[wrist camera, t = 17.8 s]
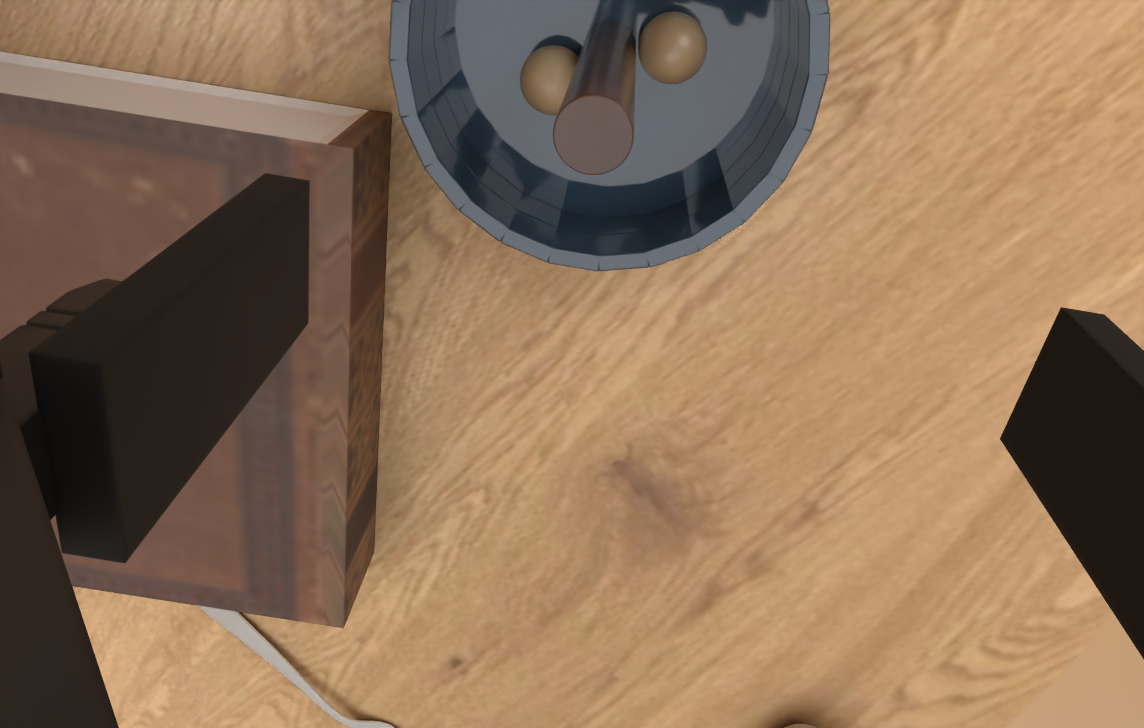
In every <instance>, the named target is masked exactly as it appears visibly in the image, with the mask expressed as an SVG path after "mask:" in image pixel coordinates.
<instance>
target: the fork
mask: <svg viewBox="0 0 1144 728" xmlns="http://www.w3.org/2000/svg"><path fill="white" fill-rule="evenodd" d="M197 607H199V608H200V609H201V610H203V611H204V612H205V613H206V614H208V615H209V616H210V617H211V618H213V619H214V620H215V621H216V622H218V623H219V624H220V625H222V626H223V627H224V628H225V629H227V630H228V631H229V632H231V633H232V634H233V635H234V636H236V637H237V638H238V639H240V640H241V641H242V642H243V643H245V644H246V645H247V646H248V647H250V648H251V649H252V650H253V651H255V652H256V653H257V654H258V655H260V656H261V657H262V658H263V659H264V660H266V661H267V662H268V663H269V664H271V665H272V666H273V667H274V668H276V669H277V670H278V671H279V672H281V673H282V674H283V675H284V676H286V677H287V678H288V679H289V680H290V681H291V682H293V683H294V684H295V685H296V686H297V687H299V688H300V689H301V690H302V691H303V692H304V693H306V694H307V695H308V696H309V697H310V698H311V699H312V700H313V701H314V702H315V703H316V704H318V705H319V706H320V707H321V708H322V709H323V710H324V711H325V712H327V713H328V714H329V715H330V716H332V717H333V718H334V719H336V720H337V721H339V722H340V723H342V724H344V725H346V726H348V727H350V728H394V727H393V726H392V725H390V724H387V723H384V722H381V721H364V720H356V719H352V718H349V717H347V716H345V715H343V714H341V713H340V712H338V711H337V710H336V709H334V708H333V707H332V706H331V705H330V704H329V703H328V702H327V701H326V700H325V699H324V698H323V697H322V696H321V695H320V694H319V693H318V692H317V691H316V690H315V689H314V688H313V687H312V686H311V685H310V684H309V683H308V682H307V681H306V680H305V679H304V678H303V677H302V676H301V675H300V674H299V672H298V671H297V670H296V669H295V668H294V667H293V666H292V665H291V664H290V663H289V662H288V661H287V660H286V659H285V658H284V657H283V656H282V655H281V654H280V653H279V651H278V650H276V649H275V648H274V647H273V646H272V645H271V644H270V643H269V642H268V641H267V640H266V639H265V638H264V637H263V636H262V635H261V634H260V633H259V632H258V631H257V630H256V629H255V628H254V627H253V626H252V625H251V624H250V623H249V622H248V621H247V620H246V619H245V618H244V617H243V616H241V615H240V614H239V613H238V612H236V611H230V610H223V609H217V608H210V607H204V606H198V605H197Z"/></svg>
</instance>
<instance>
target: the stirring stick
mask: <svg viewBox="0 0 1144 728" xmlns="http://www.w3.org/2000/svg"><path fill="white" fill-rule="evenodd" d="M635 77H636V42H635V39H634V36H633V34H632V33H631V31H630V30H629V29H628V28H627V27H626V26H625V25H623V24H621V23H619V22H615V21H605V22H601V23H599V24H597V25H596V26H594V27H593V28H592V29H591V30H590V31H589V33H588V34H587V36H586V38H585V41H584V44H583V46H582V49H581V52H580V55H579V57H578V60H577V63H576V65H575V68H574V71H573V74H572V76H571V79H570V82H569V84H568V87H567V90H566V93H565V95H564V98H563V101H562V104H561V106H560V109H559V112H558V114H557V117H556V120H555V123H554V127H553V141H554V146H555V149H556V151H557V153H558V155H559V157H560V158H561V159H562V161H563V162H564V163H565V164H566V165H567V166H569V167H570V168H571V169H573V170H575V171H577V172H579V173H582V174H586V175H601V174H605V173H608V172H610V171H612V170H614V169H616V168H617V167H618V166H620V165H621V164H622V163H623V162H624V161H625V159H626V158H627V157H628V155H629V153H630V151H631V148H632V145H633V140H634V113H635Z"/></svg>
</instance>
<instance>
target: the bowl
mask: <svg viewBox="0 0 1144 728" xmlns="http://www.w3.org/2000/svg"><path fill="white" fill-rule="evenodd" d="M666 12H682V13H685V14H687V15H689V16H691V17H693V18H694V19H695V20H696V21H697V22H698V23H699V24H700V25H701V27H702V28H703V30H704V33H705V36H706V39H707V54H706V58H705V61H704V63H703V65H702V67H701V68H700V70H699V71H698V72H697V73H696V74H695V75H694V76H693V77H692V78H690V79H689V80H687V81H685V82H683V83H679V84H663V83H660V82H658V81H656V80H654V79H652V78H651V77H650V76H649V75H648V74H647V73H646V72H645V70H644V69H643V67H642V65H641V63H640V60H639V55H638V43H639V39H640V36H641V33H642V31H643V30H644V28H645V26H646V25H647V24H648V23H649V22H650V21H651V20H652V19H653V18H655V17H656V16H658V15H660V14H663V13H666ZM605 21H615V22H619V23H621V24H623V25H625V26H626V27H627V28H628V29H629V30H630V31H631V33H632V34H633V36H634V39H635V42H636V77H635V113H634V140H633V145H632V148H631V151H630V153H629V155H628V157H627V158H626V159H625V161H624V162H623V163H622V164H621V165H620V166H618V167H617V168H616V169H614V170H612V171H610V172H608V173H605V174H601V175H586V174H582V173H579V172H577V171H575V170H573V169H571V168H570V167H569V166H567V165H566V164H565V163H564V162H563V161H562V159H561V158H560V157H559V155H558V153H557V151H556V149H555V146H554V141H553V127H554V123H555V120H556V117H557V115H546V114H543V113H540V112H538V111H537V110H535V109H534V108H532V107H531V106H530V105H529V104H528V102H527V101H526V99H525V98H524V96H523V94H522V91H521V87H520V73H521V69H522V66H523V64H524V62H525V61H526V59H527V58H528V56H529V55H530V54H532V53H533V52H534V51H535V50H537V49H539V48H541V47H544V46H548V45H558V46H563V47H566V48H568V49H570V50H571V51H572V52H574V53H575V54H576V55H577V56H578V57H579V55H580V52H581V49H582V46H583V44H584V41H585V38H586V36H587V34H588V33H589V31H590V30H591V29H592V28H593V27H594V26H596V25H597V24H599V23H601V22H605ZM829 45H830V13H829V6H828V1H827V0H392V2H391V21H390V41H389V59H390V60H389V65H390V70H391V75H392V80H393V85H394V90H395V95H396V100H397V105H398V110H399V115H400V117H401V120H402V122H403V124H404V126H405V128H406V131H407V133H408V135H409V137H410V139H411V141H412V143H413V145H414V148H415V150H416V152H417V154H418V156H419V158H420V160H421V162H422V165H423V166H424V167H425V170H426V171H427V173H428V174H429V175H430V176H431V177H432V179H433V180H434V181H435V182H436V184H437V185H438V186H439V187H440V189H441V190H442V191H443V192H444V194H445V195H446V196H447V197H448V199H449V200H450V201H451V202H452V203H453V205H454V206H455V207H456V208H457V209H458V210H459V211H460V212H461V213H463V214H464V215H465V216H466V217H468V218H469V219H470V220H472V221H473V222H474V223H476V224H477V225H478V226H480V227H481V228H482V229H484V230H485V231H486V232H487V233H489V234H490V235H491V236H493V237H494V238H495V239H497V240H498V241H501V243H503V244H505V245H507V246H510V247H512V248H514V249H517V250H519V251H521V252H524V253H526V254H528V255H531V256H533V257H535V258H537V259H540V260H542V261H544V262H548V263H551V264H557V265H563V266H569V267H575V268H580V269H586V270H592V271H598V270H599V271H608V270H621V269H634V268H647V267H653V266H656V265H659V264H662V263H665V262H668V261H671V260H674V259H677V258H680V257H683V256H686V255H689V254H692V253H695V252H698V251H700V250H702V249H704V248H705V247H707V246H708V245H710V244H712V243H713V242H715V241H716V240H718V239H719V238H721V237H723V236H724V235H726V234H727V233H729V232H731V231H732V230H734V229H735V228H737V227H738V226H740V225H742V224H743V223H744V222H746V221H747V220H748V219H749V218H750V217H751V216H752V215H753V214H754V213H755V212H756V210H757V209H758V208H759V207H760V206H761V205H762V204H763V203H764V202H765V201H766V200H767V199H768V198H769V197H770V196H771V195H772V194H773V193H774V192H775V191H776V190H777V189H778V188H779V187H780V185H781V184H782V183H783V181H784V180H785V179H786V177H787V175H788V173H789V172H790V170H791V168H792V167H793V165H794V163H795V161H796V160H797V158H798V156H799V154H800V153H801V151H802V149H803V147H804V146H805V144H806V142H807V140H808V139H809V137H810V135H811V133H812V132H811V131H812V130H813V127H814V124H815V120H816V117H817V113H818V110H819V106H820V103H821V99H822V95H823V92H824V88H825V85H826V81H827V78H828V75H827V74H829Z"/></svg>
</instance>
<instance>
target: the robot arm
mask: <svg viewBox="0 0 1144 728" xmlns="http://www.w3.org/2000/svg"><path fill="white" fill-rule="evenodd" d="M309 193H310V180H304V179H298V178H292V177H286V176H280V175H274V174H268V173H265V174H263V175H262V176H261V177H259V178H258V179H257V180H255V181H254V182H253V183H251V184H250V185H249V186H247V187H246V188H245V189H244V190H242V191H241V192H240V193H238V194H237V195H236V196H234V197H233V198H232V199H230V200H229V201H228V202H226V203H225V204H224V205H222V206H221V207H220V208H218V209H217V210H216V211H215V212H213V213H212V214H211V215H209V216H208V217H207V218H205V219H204V220H203V221H201V222H200V223H199V224H197V225H196V226H195V227H193V228H192V229H191V230H189V231H188V232H187V233H186V234H184V235H183V236H182V237H180V238H179V239H178V240H176V241H175V242H174V243H172V244H171V245H170V246H168V247H167V248H166V249H164V250H163V251H162V252H160V253H159V254H158V255H157V256H155V257H154V258H153V259H151V260H150V261H149V262H147V263H146V264H145V265H143V266H142V267H141V268H139V269H138V270H137V271H135V272H134V273H133V274H131V275H130V276H129V277H128V278H126V279H125V280H124V281H118V280H112V279H106V278H105V279H102V280H99V281H96V282H93V283H90V284H87V285H85V286H82V287H79V288H76V289H73V290H70V291H69V292H67V293H66V294H64V295H63V296H62V297H60V298H59V299H57V300H56V301H54V302H53V303H52V304H50V305H49V306H47V307H46V311H40V312H39V313H37V314H36V315H35V316H33V317H32V318H30V319H29V320H27V323H26V325H20V326H19V327H18V328H16V329H15V330H13V331H12V332H10V333H9V334H8V335H6V336H5V337H3V338H2V339H1V340H0V728H119V727H118V724H117V721H116V718H115V715H114V712H113V709H112V706H111V703H110V700H109V697H108V694H107V691H106V688H105V685H104V682H103V679H102V675H101V672H100V669H99V666H98V663H97V660H96V657H95V654H94V651H93V648H92V645H91V642H90V639H89V636H88V633H87V630H86V627H85V624H84V621H83V618H82V615H81V612H80V609H79V606H78V603H77V600H76V597H75V594H74V590H73V587H72V584H71V581H70V578H69V575H68V572H67V569H66V566H65V563H64V560H63V557H62V554H61V551H62V553H64V554H70V555H76V556H82V557H89V558H95V559H101V560H107V561H113V562H119V563H126V562H127V561H128V559H129V558H130V557H131V555H132V554H133V553H134V551H135V550H136V549H137V547H138V546H139V545H140V543H141V542H142V541H143V540H144V538H145V537H146V536H147V534H148V533H149V532H150V530H151V529H152V528H153V526H154V525H155V524H156V523H157V521H158V520H159V519H160V517H161V516H162V515H163V513H164V512H165V511H166V509H167V508H168V507H169V505H170V504H171V503H172V502H173V500H174V499H175V498H176V496H177V495H178V494H179V492H180V491H181V490H182V488H183V487H184V486H185V485H186V483H187V482H188V481H189V479H190V478H191V477H192V475H193V474H194V473H195V471H196V470H197V469H198V467H199V466H200V465H201V464H202V462H203V461H204V460H205V458H206V457H207V456H208V454H209V453H210V452H211V450H212V449H213V448H214V447H215V445H216V444H217V443H218V441H219V440H220V439H221V437H222V436H223V435H224V433H225V432H226V431H227V430H228V428H229V427H230V426H231V424H232V423H233V422H234V420H235V419H236V418H237V416H238V415H239V414H240V412H241V411H242V410H243V409H244V407H245V406H246V405H247V403H248V402H249V401H250V399H251V398H252V397H253V395H254V394H255V393H256V392H257V390H258V389H259V388H260V386H261V385H262V384H263V382H264V381H265V380H266V378H267V377H268V376H269V374H270V373H271V372H272V371H273V369H274V368H275V367H276V365H277V364H278V363H279V361H280V360H281V359H282V357H283V356H284V355H285V354H286V352H287V351H288V350H289V348H290V347H291V346H292V344H293V343H294V342H295V340H296V339H297V338H298V336H299V335H300V334H301V333H302V331H303V330H304V329H305V327H306V326H307V325H308V323H309ZM1000 440H1001V441H1002V443H1003V444H1004V446H1005V447H1006V449H1007V450H1008V452H1009V453H1010V455H1011V456H1012V458H1013V460H1014V461H1015V463H1016V464H1017V466H1018V467H1019V469H1020V470H1021V472H1022V473H1023V475H1024V476H1025V478H1026V479H1027V481H1028V483H1029V484H1030V486H1031V487H1032V489H1033V490H1034V492H1035V493H1036V495H1037V496H1038V498H1039V499H1040V501H1041V502H1042V504H1043V506H1044V507H1045V509H1046V510H1047V512H1048V513H1049V515H1050V516H1051V518H1052V519H1053V521H1054V522H1055V524H1056V525H1057V527H1058V529H1059V530H1060V532H1061V533H1062V535H1063V536H1064V538H1065V539H1066V541H1067V542H1068V544H1069V545H1070V547H1071V548H1072V550H1073V552H1074V553H1075V555H1076V556H1077V558H1078V559H1079V561H1080V562H1081V564H1082V565H1083V567H1084V568H1085V570H1086V571H1087V573H1088V574H1089V576H1090V578H1091V579H1092V581H1093V582H1094V584H1095V585H1096V587H1097V588H1098V590H1099V591H1100V593H1101V594H1102V596H1103V597H1104V599H1105V601H1106V602H1107V604H1108V605H1109V607H1110V608H1111V610H1112V611H1113V613H1114V614H1115V616H1116V617H1117V619H1118V620H1119V622H1120V624H1121V625H1122V627H1123V628H1124V630H1125V631H1126V633H1127V634H1128V636H1129V637H1130V639H1131V640H1132V642H1133V643H1134V645H1135V647H1136V648H1137V650H1138V651H1139V653H1140V654H1141V656H1142V657H1143V659H1144V351H1143V350H1142V349H1141V348H1140V347H1139V346H1138V345H1137V344H1136V343H1135V342H1134V341H1132V340H1131V339H1130V338H1129V337H1128V336H1127V335H1126V334H1125V333H1124V332H1123V331H1122V330H1121V329H1119V328H1118V327H1117V326H1116V325H1115V324H1114V323H1113V322H1112V321H1111V320H1110V319H1109V318H1107V317H1106V316H1105V315H1103V314H1097V313H1091V312H1086V311H1080V310H1074V309H1068V308H1062V307H1061V309H1060V311H1059V313H1058V315H1057V317H1056V319H1055V321H1054V324H1053V326H1052V328H1051V330H1050V332H1049V334H1048V337H1047V339H1046V341H1045V343H1044V345H1043V347H1042V349H1041V352H1040V354H1039V356H1038V358H1037V360H1036V362H1035V364H1034V367H1033V369H1032V371H1031V373H1030V375H1029V377H1028V380H1027V382H1026V384H1025V386H1024V388H1023V390H1022V392H1021V395H1020V397H1019V399H1018V401H1017V403H1016V405H1015V408H1014V410H1013V412H1012V414H1011V416H1010V418H1009V420H1008V423H1007V425H1006V427H1005V429H1004V431H1003V433H1002V435H1001V438H1000ZM55 515H56V521H57V527H58V533H59V539H60V545H61V551H60V548H59V545H58V542H57V539H56V536H55V533H54V530H53V527H52V524H51V521H50V520H51V519H52V518H53V517H54V516H55Z"/></svg>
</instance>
